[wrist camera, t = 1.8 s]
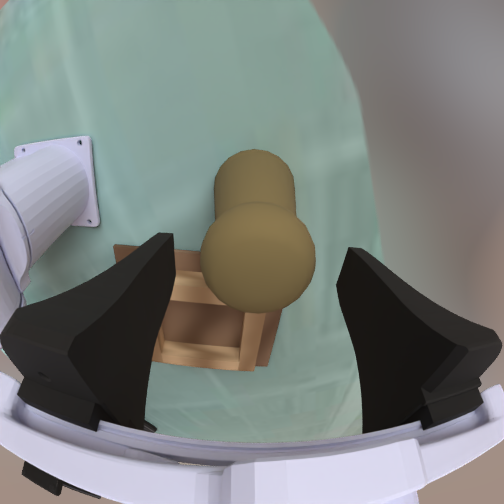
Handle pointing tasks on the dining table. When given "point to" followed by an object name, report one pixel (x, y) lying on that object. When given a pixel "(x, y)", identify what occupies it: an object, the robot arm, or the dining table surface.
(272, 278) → the cork
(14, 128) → the dining table surface
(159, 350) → the socket block
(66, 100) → the dining table surface
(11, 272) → the robot arm
